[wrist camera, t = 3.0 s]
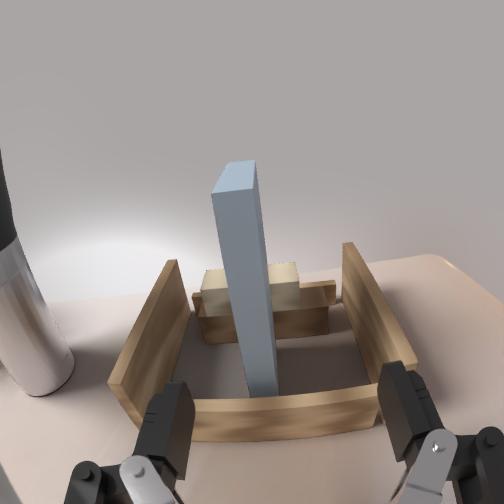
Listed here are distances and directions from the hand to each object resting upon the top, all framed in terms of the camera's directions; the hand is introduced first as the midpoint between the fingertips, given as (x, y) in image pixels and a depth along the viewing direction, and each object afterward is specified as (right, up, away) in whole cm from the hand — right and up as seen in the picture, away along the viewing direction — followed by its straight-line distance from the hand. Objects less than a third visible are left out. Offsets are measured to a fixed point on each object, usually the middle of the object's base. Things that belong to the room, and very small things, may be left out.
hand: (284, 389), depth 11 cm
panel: (0, -7, +17) cm, 19 cm away
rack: (0, -6, +20) cm, 21 cm away
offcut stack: (0, -4, +24) cm, 25 cm away
